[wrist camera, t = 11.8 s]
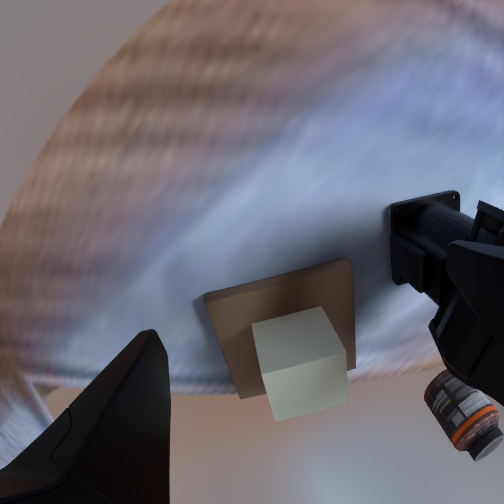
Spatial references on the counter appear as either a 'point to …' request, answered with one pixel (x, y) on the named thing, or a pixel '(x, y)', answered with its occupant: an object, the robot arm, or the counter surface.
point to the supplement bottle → (464, 415)
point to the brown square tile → (279, 315)
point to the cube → (301, 363)
